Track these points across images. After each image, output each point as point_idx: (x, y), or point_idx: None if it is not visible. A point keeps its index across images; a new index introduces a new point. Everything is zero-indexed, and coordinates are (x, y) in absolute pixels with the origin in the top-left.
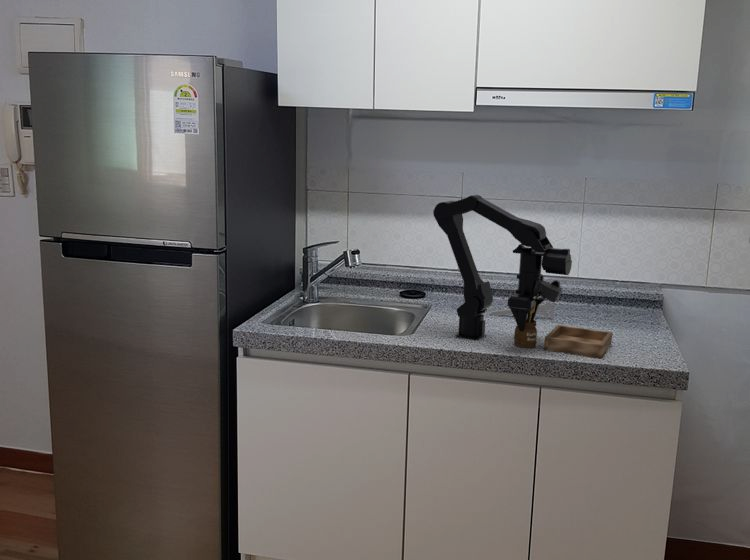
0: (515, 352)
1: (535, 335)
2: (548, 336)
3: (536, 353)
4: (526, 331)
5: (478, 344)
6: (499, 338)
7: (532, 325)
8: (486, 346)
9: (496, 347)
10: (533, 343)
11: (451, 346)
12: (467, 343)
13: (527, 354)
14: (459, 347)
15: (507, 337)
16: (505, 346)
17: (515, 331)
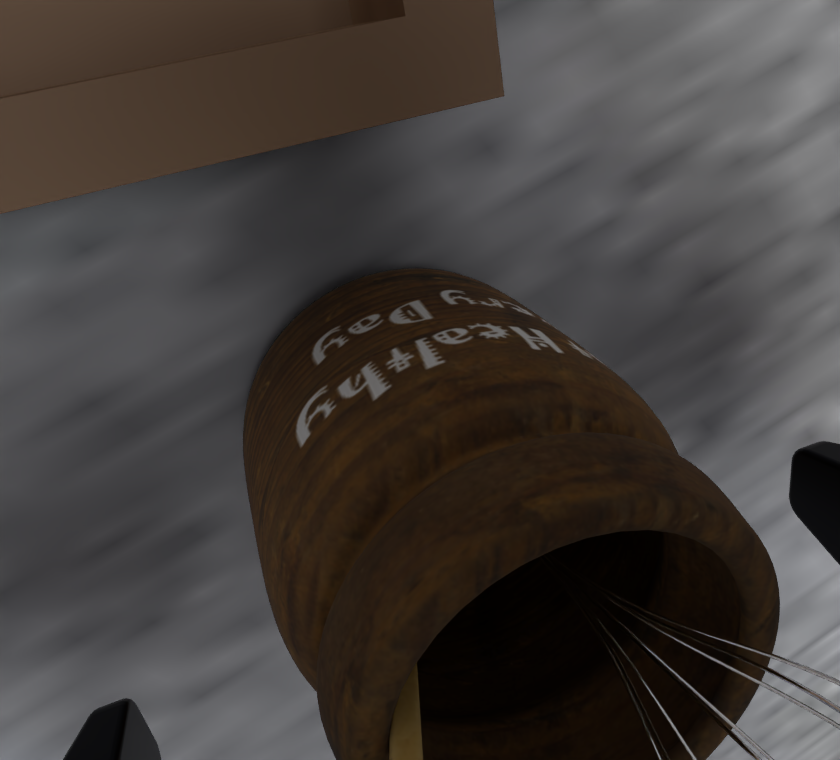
0: (740, 320)
1: (482, 321)
2: (385, 55)
3: (648, 89)
4: (674, 449)
5: None
6: (330, 752)
7: (666, 460)
8: None
9: None
10: (468, 282)
11: (820, 748)
12: None
13: (749, 165)
14: (819, 707)
15: (213, 744)
16: None
17: (598, 615)
